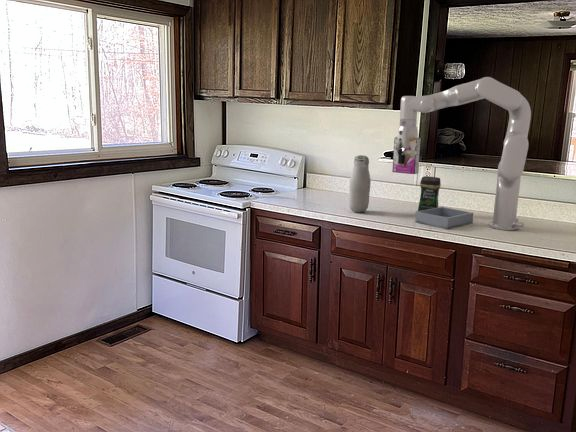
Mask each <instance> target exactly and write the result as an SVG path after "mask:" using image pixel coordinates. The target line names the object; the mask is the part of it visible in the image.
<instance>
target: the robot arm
mask: <svg viewBox="0 0 576 432" xmlns="http://www.w3.org/2000/svg"><path fill="white" fill-rule="evenodd" d="M483 99H485V100H487V101H488V102H491V103H492V104H495V105H497V106H499V107H501V108H503V109H505V110H507V111H508V114H509V115H508V116H509V117H508V118H509V119H508V125H507V129H506V133H505V138H504V140H503V149H502V152H501V153H502V154H501V158H500V161H499V162H498V165H497V175H496V176H497V177H496V187H495V188H496V189H495V198H494V207H493V215H492V221H491V222H488V226H489V227H490V228H492V229H496V230H503V231H517V230H519V229H520V228H524V226H525V224H524V223H525V222H523V221H519V218H517V214H518V212H517V211H518V205H519V196H520V187H521V177H522V175H523V173H524V170H525V164H526V159H527V155H528V151H529V139H528V135H529V131H530V126H531V125H530V124H531V117H532V110H531V106H530V103H529V101H528V100H527V98H526V97H524V96H523V95H522V94H521V92H520V91H518V90H516V89H515V88H513V87H510V86H508V85H507V84H504V83H502V82H500V81H498V80H497V79H495V78H493V77H491V76H484V77H481V78H479V79H476V80H472V81H469V82H466V83H461V84H457V85H455V86H453V87H451V88H448V89H446V90H443V91H439V92H436V93H433V94H428V95H421V96H415V95H403V96H401V98H400V110H399V111H400V112H399V127H398V130H397V137H398V138H397V145H396V146H395V148H396V150H397V152H398V155H399V156H398V163H401V164H404V162H405V155H404V152H405V149H409V147H410V138H419V134H418V133H419V131H418V126H417V124H418V123H417V122H418V120H417V119H418V113H424V114H425V113H431V112H435V111H438V110H441V109H445V108H449V107H450V108H451V107H457V106H461V105H466V104H469V103H472V102H477V101H479V100H483ZM401 147H403V148H401Z"/></svg>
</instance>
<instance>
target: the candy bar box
mask: <svg viewBox="0 0 576 432" xmlns="http://www.w3.org/2000/svg"><path fill="white" fill-rule="evenodd" d="M397 138H398V136H395V137H394V138H393V139H394V141H393V156H392V157H393V158H392V173H397V174H405V175H406V174H408V175H409V174H410V175H417V174H419V169H420V167H419V166H420V153H421V152H420V151H421V137H418V138H410V147H409V149H405V152H404V155H405V162H404V164H401V163H398V156H399V155H398V152H397V150H396V148H395V146H396V145H397ZM401 148H403V147H401Z"/></svg>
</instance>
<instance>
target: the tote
mask: <svg viewBox="0 0 576 432" xmlns="http://www.w3.org/2000/svg"><path fill="white" fill-rule="evenodd" d="M414 220H415V221H414V223H417V224H421V225H426V226H431V227H435V228H438V229H443V230H451V229H455V228H460V227H463V226H467V225H471V224H473V220H474V212H471V211H466V210H460V209H455V208H451V207H450V208H449V207H446V206H438V207H437V208H432V209H427V210H422V211H418V210H417V211H415V219H414Z"/></svg>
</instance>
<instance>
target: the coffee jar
mask: <svg viewBox="0 0 576 432" xmlns="http://www.w3.org/2000/svg"><path fill="white" fill-rule="evenodd" d="M419 186H420V196H419V201H418V207H417V211H422V210H427V209H432V208H437V207H439V193H440V188H441V187H442V184H441V178H440V177H435V176H424V175H423V176H422V177H421V178H420V183H419Z"/></svg>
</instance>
